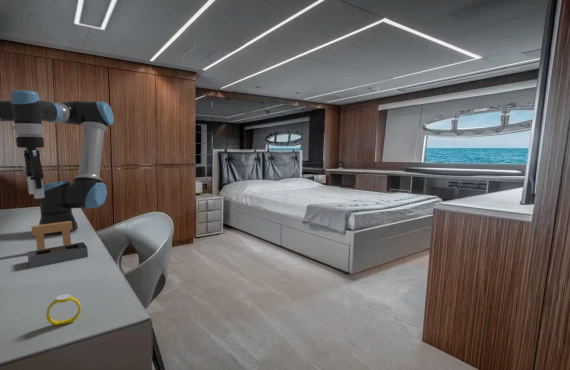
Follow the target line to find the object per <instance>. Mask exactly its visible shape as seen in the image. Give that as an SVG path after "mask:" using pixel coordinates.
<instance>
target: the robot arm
mask: <svg viewBox="0 0 570 370" xmlns="http://www.w3.org/2000/svg"><path fill="white" fill-rule="evenodd" d="M114 121H115V118H114V113H113V110H112V108H111V106H110V104H108V103H107V102H106V101H98V100H96V101H88V100H87V101H86V100H85V101H83V100H82V101H81V100H80V101H79V100H75V101H66V102H65V101H64V102H52V101H48V100H47V101H46V100H42V99H40V96H39V93H38V92H36V91H33V90H25V89H16V90H12V91H11V92H10V100H0V122H13V123H14V126H12V127H11V128H12V129H13V130H15V131H14V132H15V135H16V138H15V141H16V142H15V143H16V147H17V148H19V149H21V148H22V149H23V148H24V151H23V157H24V161H25V164H24V165H25V175H26V179H27V189H28V195H33V196H34V197H33V198H34V199H35V200H36V199H38V200H39V209H40V219H39V223H38V225H43V224H50V223H58V222H65V221H71V222H72V228H73V230H70V232H74V231H76V230H77V229H78V228H79V227H78V225H79V224H78V222H77V221H76V218H75V216H74V214H73V210H72V209H92V208H93V209H94V208H99V207H101V206H103V204H104V203H105V201H106V198H107V195H108V190H107V185H106V184H105V183H104V181H103V179H102V178H100V175H101V166H102V155H103V144H104V137H105V135H104V134H105V132H107V131H108V129H109V126H112V125H113V124H114ZM42 122H47V123H56V124H67V125H68V124H69V125H76V126H80V127H81V128H82V129H83V132H82V140H81V150H80V158H79V166H78V175H76V176H75V177H73V183H71V182H70V180H62V181H61V180H60V181H54V182H47V183H44V173H43V167H42V166H43V165H42V162H41V155H40V150H39V149H37V148H44V147H45V139H44V137H43V135H44V131H43V130H44V129H43V124H42ZM60 234H62V231H60V232H54V233H47V234H44V236H48V235H60Z"/></svg>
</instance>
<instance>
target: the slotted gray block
mask: <svg viewBox="0 0 570 370" xmlns="http://www.w3.org/2000/svg"><path fill="white" fill-rule="evenodd" d="M88 257H89V252H88V246H87V244H85V242H82V241H81V242H77V243H71V244H70V245H64V246H63V245H58V246H54V247H47V248H45V249H41V250H37V249H36V250H31V251H27V259H28V260H27V261H28V267H29V269H34V268H40V267H44V266H49V265H54V264H58V263H59V264H60V263H64V262H67V261H74V260H77V259H83V258H88Z"/></svg>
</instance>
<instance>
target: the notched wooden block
mask: <svg viewBox="0 0 570 370" xmlns="http://www.w3.org/2000/svg"><path fill="white" fill-rule="evenodd" d="M30 226H31V234H32V236H35V243H36V250H41V249H46V245H45V235H44V234H47V233H54V232H60V231H62V233H61V234H62V235H61V236H62V243H63V245H62V246H64V245H70V244H72V239H71V231H70V230H73V228H72V222H71V221H65V222H58V223H50V224H43V225H39V224H37V225H30Z"/></svg>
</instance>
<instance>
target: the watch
mask: <svg viewBox="0 0 570 370" xmlns="http://www.w3.org/2000/svg"><path fill="white" fill-rule="evenodd" d="M68 301H71V302H74V303H75V305H77V308H78V309H77V312H76V314H75V315H73V316H72V317H71V318H68V319H62V320H58V321H57V320H56V319H53V318H52V317H51V315H50V310H51V309H52V307H53V306H55V305H56V304H57V303H59V304H63V303H66V302H68ZM81 307H82V306H81V302H80V301H79V299H78V298H76V297H74V296H72V294H70V293H65V294H61V295H58V296H56V297H55V299H54V300H53V301H52V302H51V303H50V304H49V306H48V307H47V310H46V317H45V318H46V320H47V321H48V322H49V324H51V325H53V326H59V325H64V324H71V323H73V322H74V321H75V320H77V319H78V318H79V316H80V314H81V310H82V308H81Z"/></svg>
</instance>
